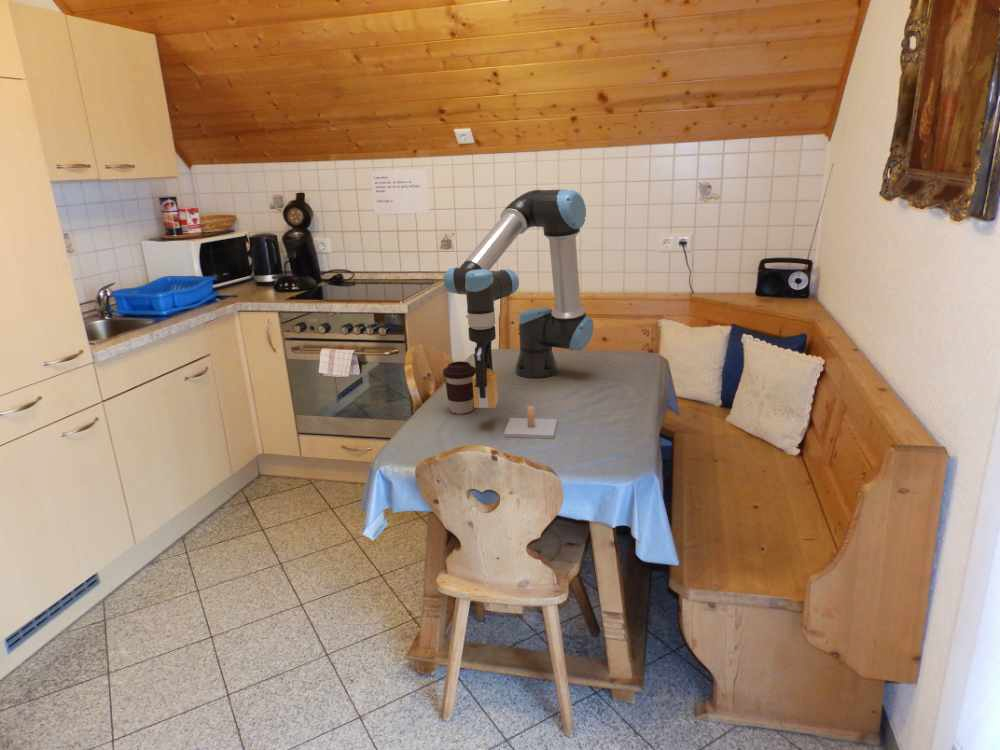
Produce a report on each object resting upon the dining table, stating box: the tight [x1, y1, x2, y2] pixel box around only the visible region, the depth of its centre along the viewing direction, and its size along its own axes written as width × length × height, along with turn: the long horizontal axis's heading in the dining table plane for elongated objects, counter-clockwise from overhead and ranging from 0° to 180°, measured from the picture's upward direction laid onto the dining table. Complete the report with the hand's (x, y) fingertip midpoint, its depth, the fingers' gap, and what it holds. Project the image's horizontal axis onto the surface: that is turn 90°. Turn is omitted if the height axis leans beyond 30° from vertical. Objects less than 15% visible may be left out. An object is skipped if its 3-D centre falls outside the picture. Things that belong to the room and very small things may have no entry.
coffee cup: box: [442, 361, 475, 415], centre depth 208 cm, size 10×10×15 cm
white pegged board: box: [503, 405, 558, 440], centre depth 193 cm, size 12×14×7 cm
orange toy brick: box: [472, 368, 499, 409], centre depth 194 cm, size 6×6×10 cm
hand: (486, 402), depth 196 cm, fingers closed on orange toy brick, 6 cm apart
